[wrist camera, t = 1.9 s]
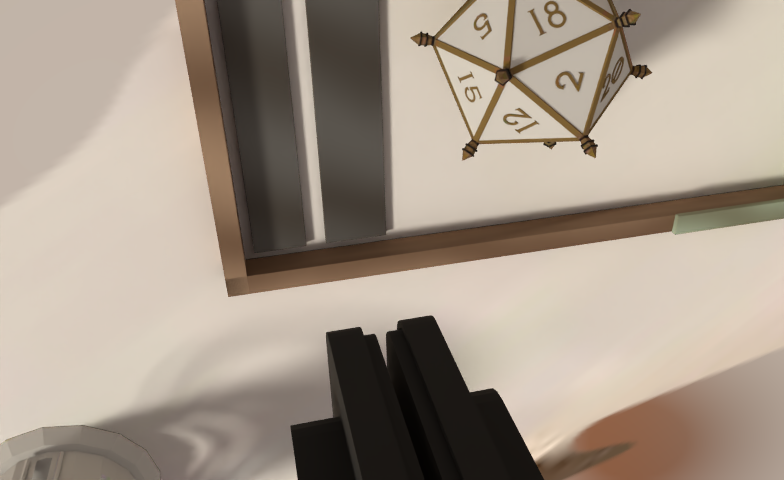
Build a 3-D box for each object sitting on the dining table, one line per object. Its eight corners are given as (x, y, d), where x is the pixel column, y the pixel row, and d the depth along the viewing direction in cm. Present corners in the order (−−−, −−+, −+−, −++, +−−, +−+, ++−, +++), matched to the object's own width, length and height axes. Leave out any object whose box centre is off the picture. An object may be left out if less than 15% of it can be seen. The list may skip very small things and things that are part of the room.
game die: (483, -29, 33) (669, -136, 24) (547, 134, 35) (740, 86, 26) (341, 27, 28) (508, -83, 20) (423, 211, 30) (609, 182, 22)
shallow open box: (129, -277, 22) (115, -298, 19) (955, -274, 28) (1055, -289, 25) (227, 280, 34) (229, 329, 30) (803, 197, 40) (858, 230, 36)
